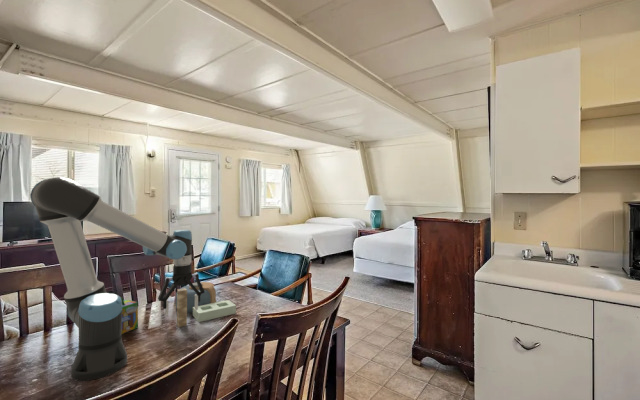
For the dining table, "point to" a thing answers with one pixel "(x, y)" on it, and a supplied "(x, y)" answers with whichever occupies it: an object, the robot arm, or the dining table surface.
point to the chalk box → (129, 315)
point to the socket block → (214, 310)
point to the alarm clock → (205, 297)
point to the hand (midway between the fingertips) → (181, 312)
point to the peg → (181, 307)
